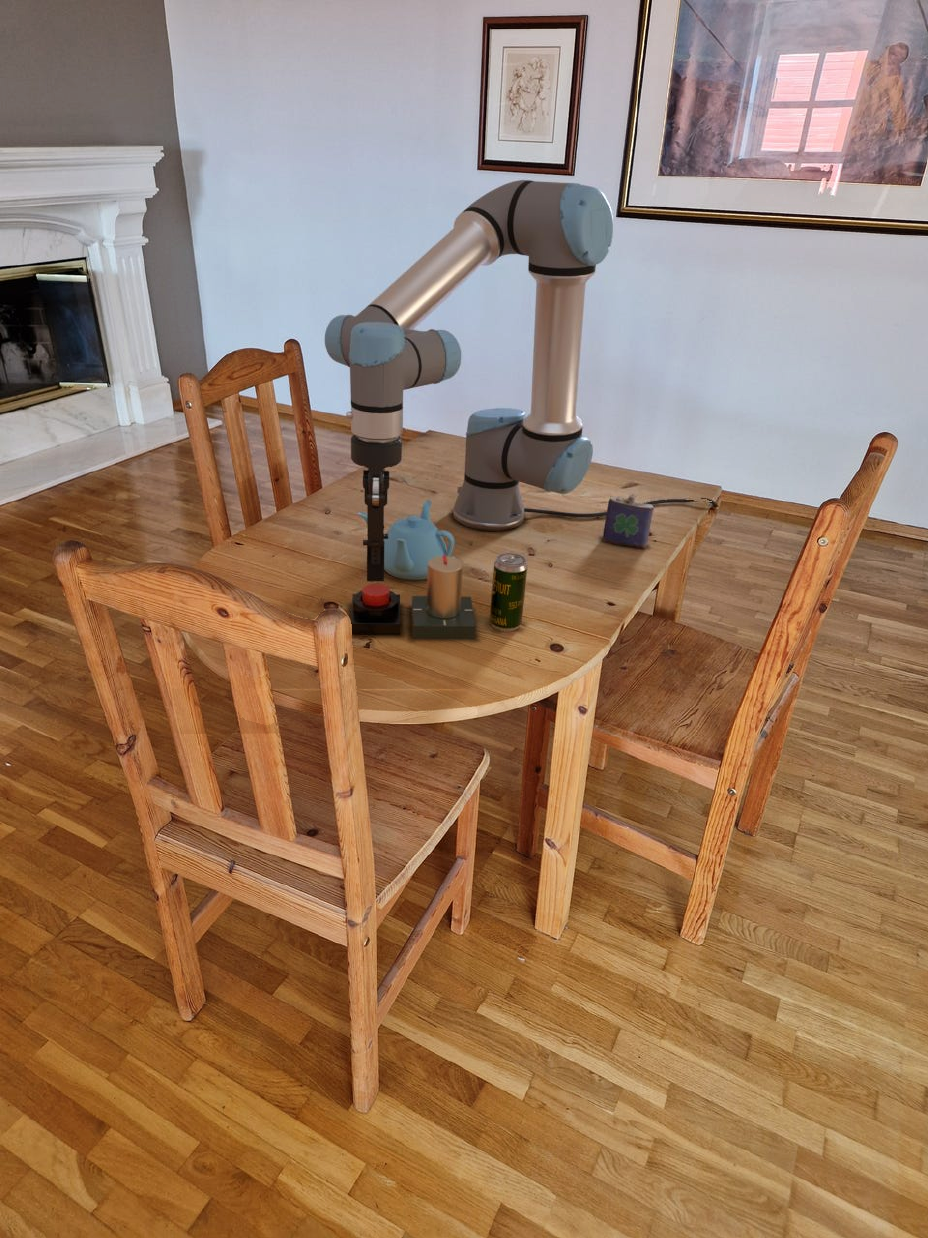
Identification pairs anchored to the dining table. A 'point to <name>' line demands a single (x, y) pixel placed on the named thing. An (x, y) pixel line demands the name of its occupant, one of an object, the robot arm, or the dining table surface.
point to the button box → (375, 616)
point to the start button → (375, 594)
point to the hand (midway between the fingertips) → (375, 579)
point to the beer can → (508, 591)
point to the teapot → (414, 545)
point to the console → (442, 622)
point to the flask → (628, 522)
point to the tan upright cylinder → (444, 587)
